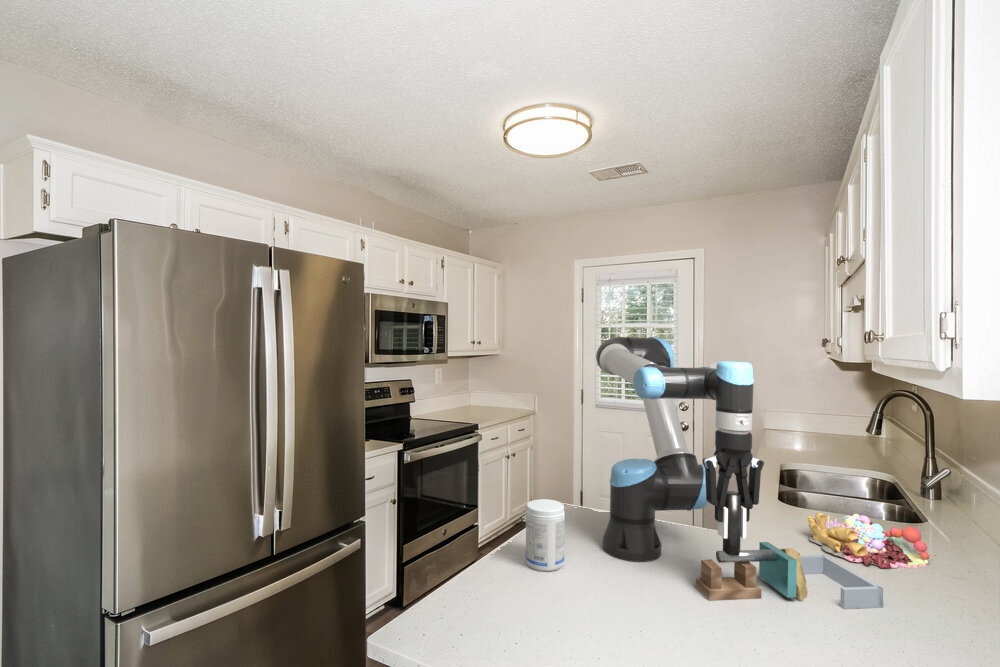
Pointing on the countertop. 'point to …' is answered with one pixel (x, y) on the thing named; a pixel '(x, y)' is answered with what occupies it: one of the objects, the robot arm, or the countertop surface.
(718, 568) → the rod stand
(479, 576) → the countertop surface
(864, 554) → the colorful coral reef
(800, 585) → the rock
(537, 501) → the supplement tub
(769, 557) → the lever handle
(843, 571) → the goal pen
